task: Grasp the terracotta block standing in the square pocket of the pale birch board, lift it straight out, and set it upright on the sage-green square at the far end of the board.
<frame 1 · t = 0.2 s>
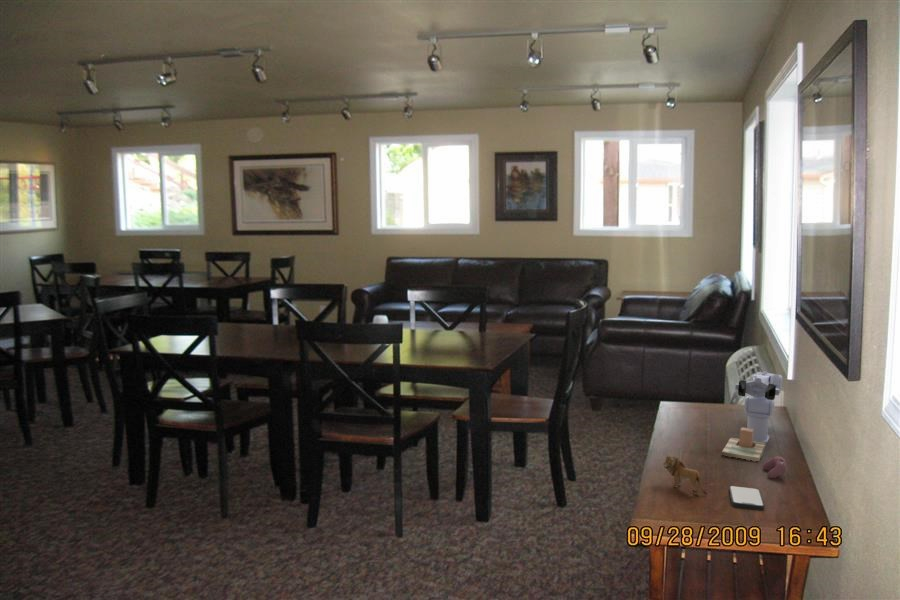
hand: (754, 393, 282), 21 cm above the table, tool horizontal, fingers open, 7 cm apart
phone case: (745, 501, 239), on the table
video game controller: (774, 475, 262), on the table
terracotta block: (745, 448, 290), resting in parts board
lion figurine: (683, 489, 246), on the table
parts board: (743, 451, 286), on the table
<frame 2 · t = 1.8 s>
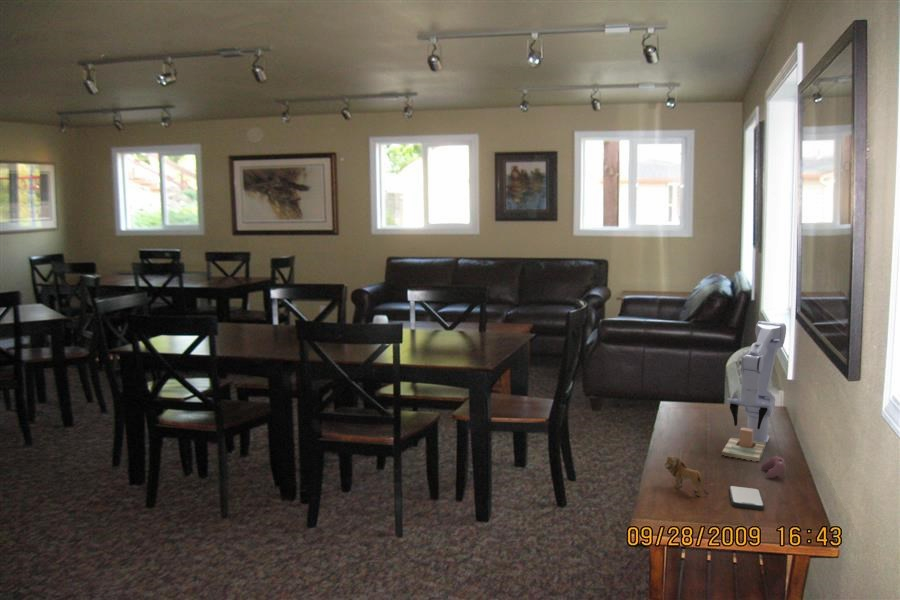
hand: (747, 426, 289), 8 cm above the table, tool pointing down, fingers open, 7 cm apart
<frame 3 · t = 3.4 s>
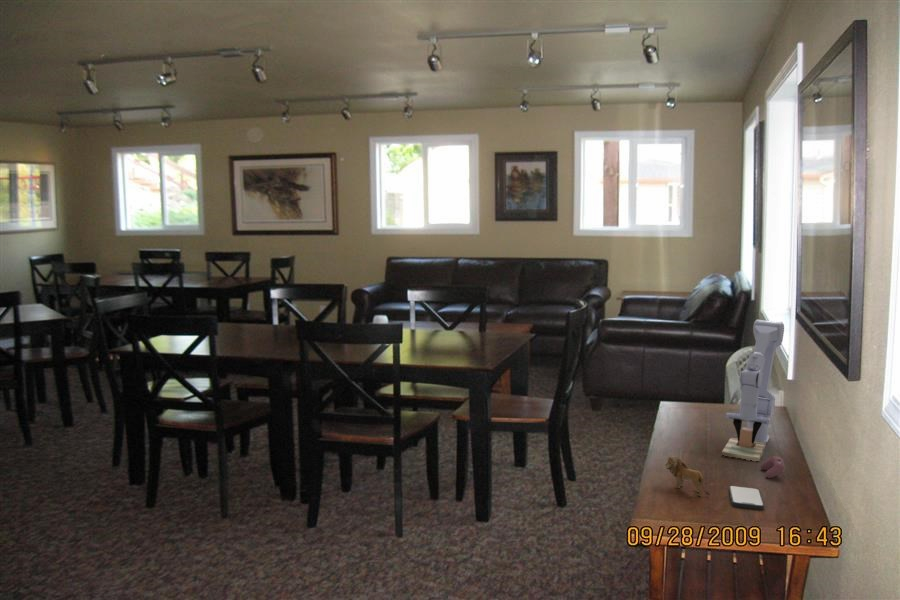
hand: (746, 441, 289), 3 cm above the table, tool pointing down, fingers closed on terracotta block, 4 cm apart
terracotta block: (745, 448, 290), resting in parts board, touching gripper
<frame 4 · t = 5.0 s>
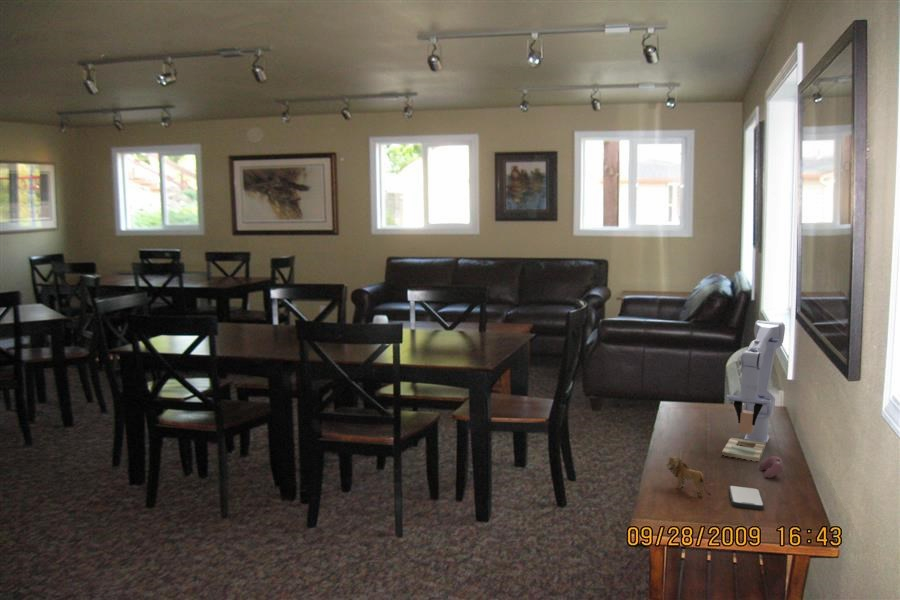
hand: (746, 423, 287), 10 cm above the table, tool pointing down, fingers closed on terracotta block, 4 cm apart
terracotta block: (746, 431, 287), point 7 cm above the table, touching gripper
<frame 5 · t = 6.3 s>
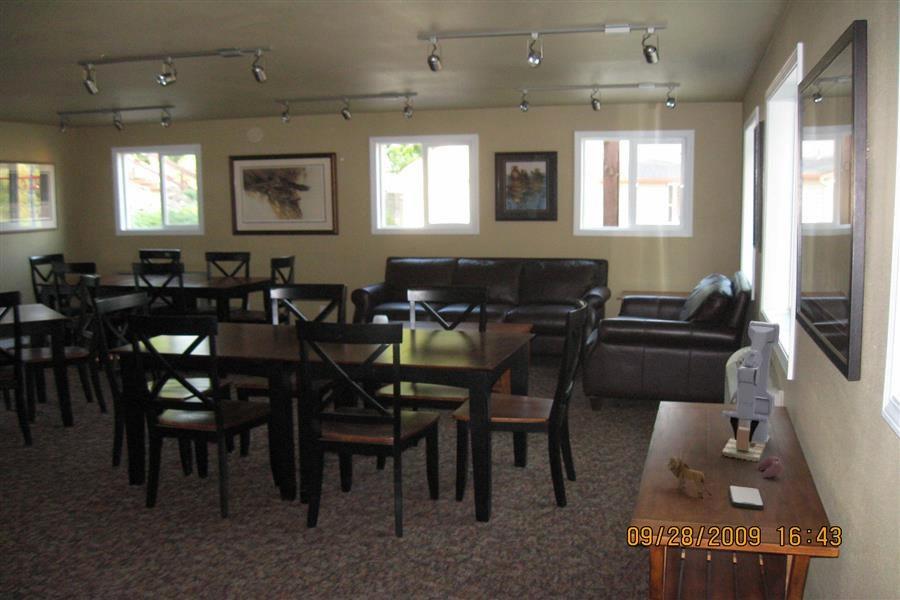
hand: (743, 440, 281), 5 cm above the table, tool pointing down, fingers closed on terracotta block, 4 cm apart
terracotta block: (742, 448, 281), point 2 cm above the table, touching gripper
when the fingers open (5 cm above the table, at t = 7.0 s): terracotta block stays where it is, resting on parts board.
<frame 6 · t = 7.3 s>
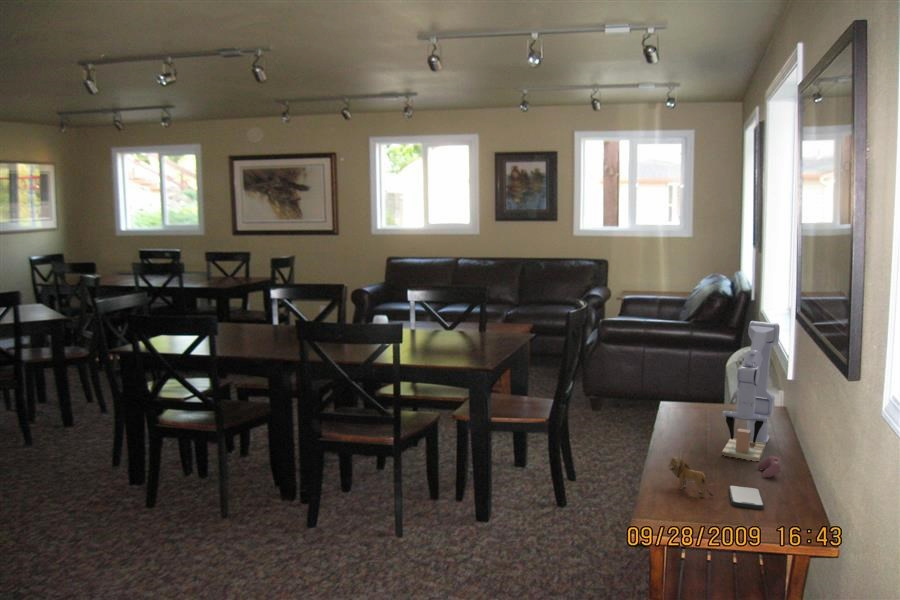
hand: (743, 440, 281), 5 cm above the table, tool pointing down, fingers open, 7 cm apart
terracotta block: (742, 450, 282), point 2 cm above the table, touching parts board
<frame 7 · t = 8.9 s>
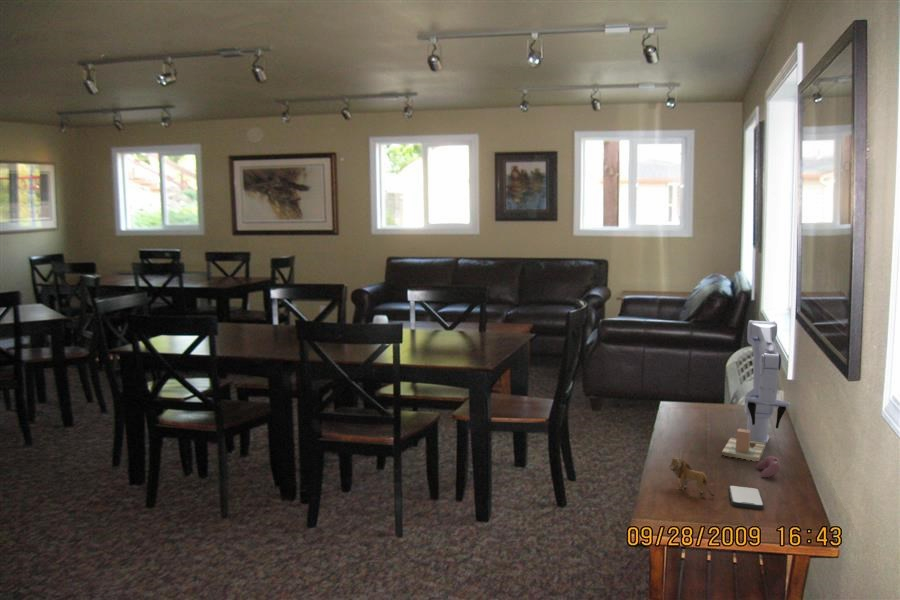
hand: (765, 425, 285), 9 cm above the table, tool pointing down, fingers open, 7 cm apart
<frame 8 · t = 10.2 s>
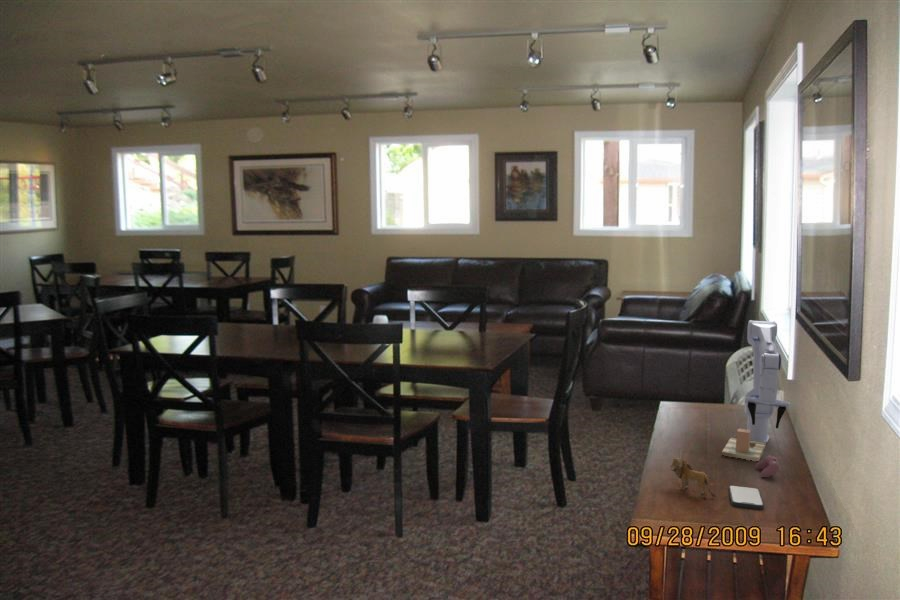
hand: (765, 425, 285), 9 cm above the table, tool pointing down, fingers open, 7 cm apart
at the end: terracotta block 0.2 cm from the target spot, point 1.6 cm above the table; terracotta block tilted 0°; the gripper is holding nothing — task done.
